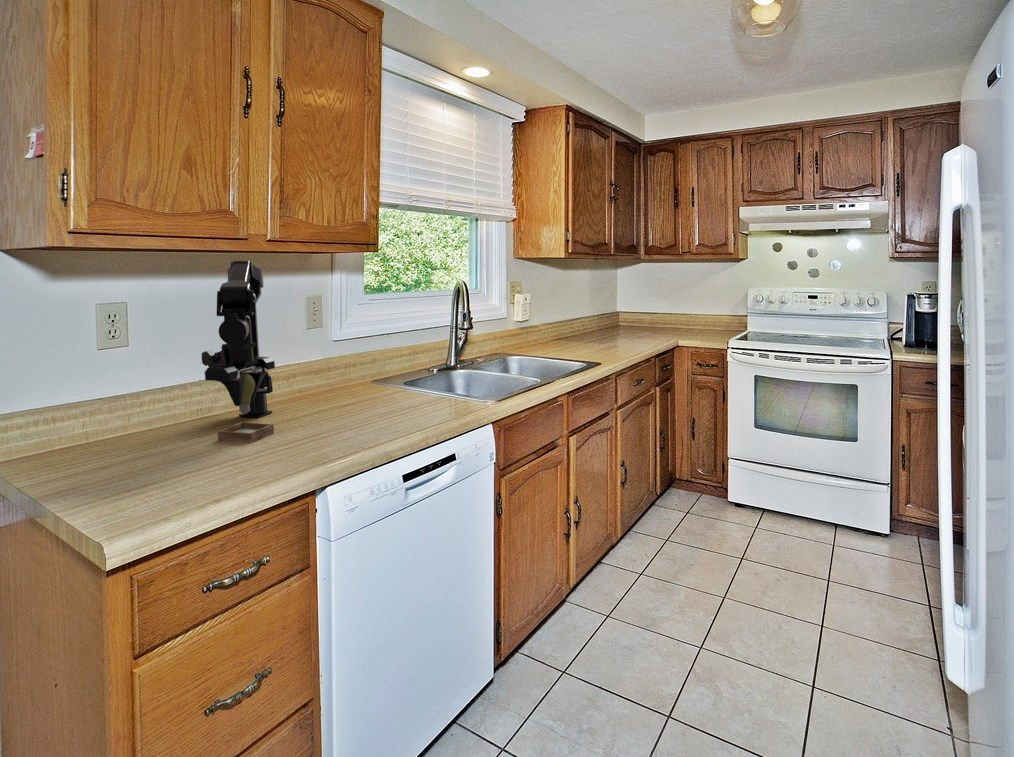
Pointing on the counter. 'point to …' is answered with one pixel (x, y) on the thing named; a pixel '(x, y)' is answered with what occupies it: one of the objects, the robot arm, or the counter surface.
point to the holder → (245, 432)
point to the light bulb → (246, 392)
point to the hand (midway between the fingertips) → (244, 403)
